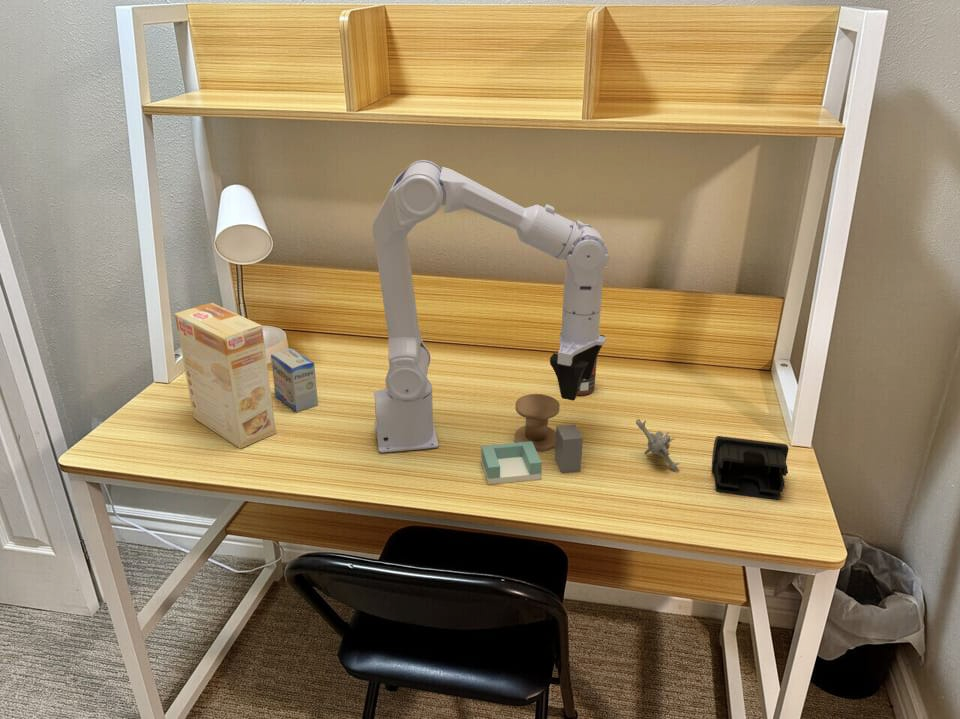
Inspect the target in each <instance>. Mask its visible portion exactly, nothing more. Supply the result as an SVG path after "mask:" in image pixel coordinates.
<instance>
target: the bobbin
mask: <svg viewBox="0 0 960 719" xmlns="http://www.w3.org/2000/svg"><path fill="white" fill-rule="evenodd" d="M515 411H516V413H517V414H518V415H519V416H520V417H521V416H522V417H523V418H525V425H524V426H521V427H519V428H518V429H516V431H515V433H514V443H518V442H529V441H532V442H533V445H534V447H535V449H536V451H537V452H545V451H549V450H551V449H553V448H555V443H556V430H554V429H553V428H552V427H549V426H548V425H549V419H552V418H554V417H557V415H558V414H559V412H560V402H559V401H558V400H557V399H556V398H555V397H552V396H551V395H547V394H542V393H541V394H540V393H531V394H526V395H523V396H520V397H519V398H517V399H516V401H515Z"/></svg>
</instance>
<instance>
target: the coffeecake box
mask: <svg viewBox="0 0 960 719" xmlns="http://www.w3.org/2000/svg"><path fill="white" fill-rule="evenodd" d="M174 317H175V322H176V328H177V333H178V339H179V344H180V349H181V356H182V360H183V367H184V372H185V376H186V382H187V387H188V394H189V400H190V405H191V409H192V410H191V411H192V416H193V419H195V420H196V421H198V422H199V423H200V424H202V425H204V426H205V427H207V428H208V429H210V430H212V432H215V433H216V434H217V435H219V436H220V437H222V438H224V439H225V440H226V441H228V442H229V443H232V444H233V445H235V446H236V447H237V448H239V449H240V450H241V449H243V448H246V447H248V446H250V445H252V444H254V443H256V442H259V441H262V440H263V439H267V438H269V437H271V436H273V435H276V434H277V431H276V424H275V423H276V422H275V415H274V406H273V400H272V399H273V398H272V393H271V392H272V391H271V385H270V376H269V371H268V370H269V369H268V363H267V355H266V354H267V353H266V346H265V339H264V332H263V325H262V324H260V323H257V322H256V321H253V320H251V319H248V318H246V317H244V316H242V315H240V314H238V313H236V312H233V311H230V310H228V309H227V308H225V307H223V306H220V305H218V304H216V303H214V302H211V303H210V302H209V303H205V304H202V305H197V306H195V307H192V308H189V309H184V310H181V311H178V312H175V313H174Z"/></svg>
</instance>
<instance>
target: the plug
mask: <svg viewBox="0 0 960 719" xmlns="http://www.w3.org/2000/svg"><path fill="white" fill-rule="evenodd" d="M555 432H556V443H555V447H554V448H555V449H554V461H555V463H556V465H557V468H558V469H559V471H560V473H561V474H570V473H578V472H579V473H580V472H581V469H582V455H583V441H584V440H583V439H584V438H583V436H582V434H581V432H580V431H579V429H578V427H577V425H576V424H567V425H566V424H565V425H556V428H555Z"/></svg>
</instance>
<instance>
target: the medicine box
mask: <svg viewBox="0 0 960 719" xmlns="http://www.w3.org/2000/svg"><path fill="white" fill-rule="evenodd" d="M270 361H271V362H270V363H271V368H272V379H273V387H274V388H273V389H274V397H276V399H278V400H279V401H280V402H282V403H284V404H285V405H287V406H288V407H289V408H290V409H292V410H293V411H295V412H296V413H299V412H302V411H305V410H308V409H311V408H314V407H316V406H318V405H319V400H318V397H319V396H318V388H317V378H316V369H315V368H316V367H315V362H314V361H312V360H311V359H309V358H307V357H306V356H305V355H303V354H301V353H300V352H298V351H297V350H295V349H294V348H292V347H291V348H286V349H283V350H279V351H276V352H274V353H271V354H270Z"/></svg>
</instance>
